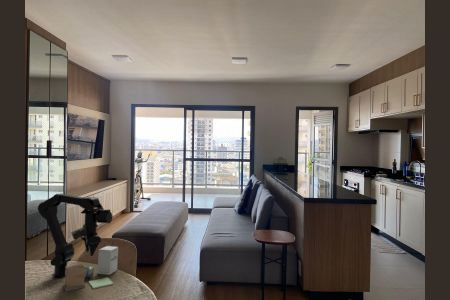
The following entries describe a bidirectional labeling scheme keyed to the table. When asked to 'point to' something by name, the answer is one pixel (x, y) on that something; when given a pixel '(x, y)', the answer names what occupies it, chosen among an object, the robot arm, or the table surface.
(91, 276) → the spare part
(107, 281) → the sage mat
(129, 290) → the table surface
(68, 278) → the tan box
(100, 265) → the supplement box
